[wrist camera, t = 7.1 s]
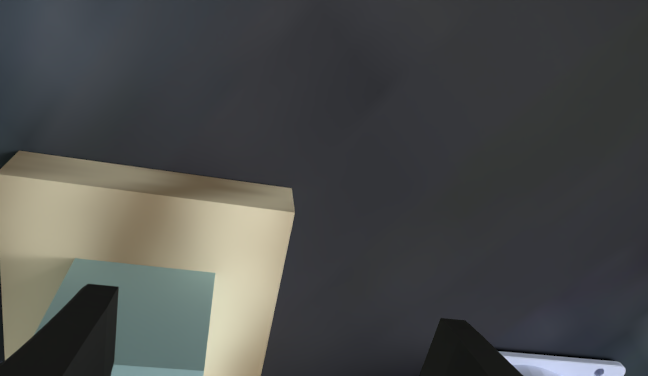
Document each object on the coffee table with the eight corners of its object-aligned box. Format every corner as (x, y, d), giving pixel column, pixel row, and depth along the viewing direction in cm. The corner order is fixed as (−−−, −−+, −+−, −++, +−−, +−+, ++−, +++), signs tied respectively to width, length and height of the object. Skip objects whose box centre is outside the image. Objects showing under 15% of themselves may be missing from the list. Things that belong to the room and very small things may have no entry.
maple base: (291, 188, 22) (294, 212, 20) (253, 376, 26) (253, 410, 24) (18, 150, 20) (-5, 173, 18) (25, 360, 24) (6, 396, 22)
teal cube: (215, 272, 21) (204, 370, 16) (200, 372, 23) (187, 483, 18) (74, 258, 20) (21, 358, 15) (73, 363, 22) (25, 478, 17)
